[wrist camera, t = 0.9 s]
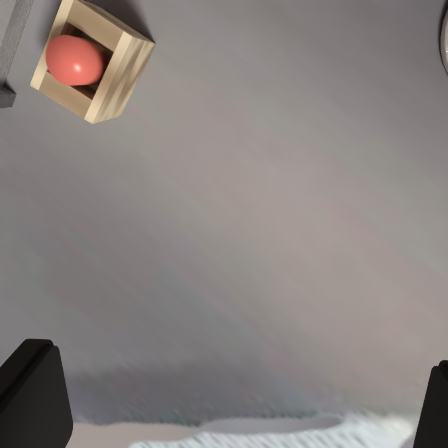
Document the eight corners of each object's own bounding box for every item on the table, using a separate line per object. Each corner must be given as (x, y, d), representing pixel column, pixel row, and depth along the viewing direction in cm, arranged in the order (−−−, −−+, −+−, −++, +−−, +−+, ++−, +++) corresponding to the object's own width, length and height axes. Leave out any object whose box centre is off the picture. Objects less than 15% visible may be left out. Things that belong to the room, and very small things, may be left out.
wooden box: (101, 7, 36) (65, -8, 29) (155, 43, 37) (132, 36, 30) (69, 83, 39) (30, 85, 32) (120, 116, 40) (92, 123, 33)
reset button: (78, 30, 32) (55, 25, 29) (115, 55, 32) (97, 52, 29) (62, 69, 33) (38, 69, 30) (98, 92, 34) (79, 94, 30)
